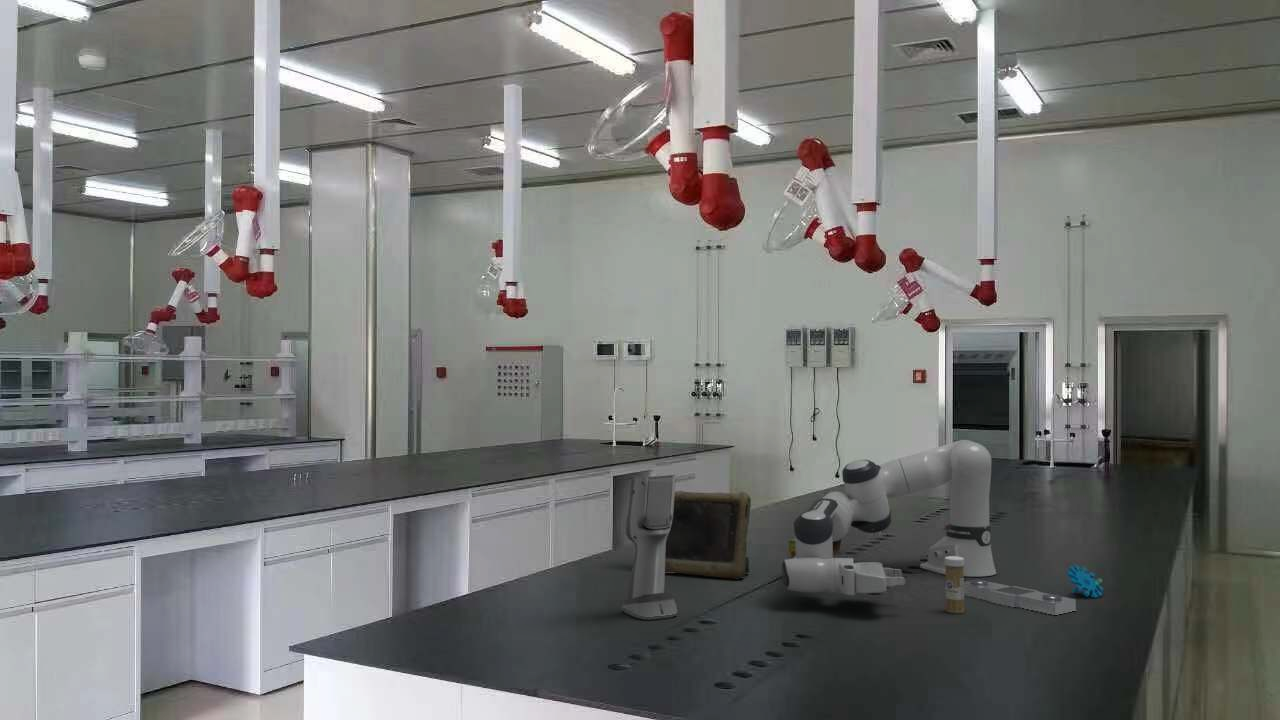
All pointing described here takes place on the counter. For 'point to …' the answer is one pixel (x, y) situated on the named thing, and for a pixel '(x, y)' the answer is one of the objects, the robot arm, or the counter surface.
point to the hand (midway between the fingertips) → (903, 577)
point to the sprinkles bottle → (954, 584)
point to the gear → (1085, 582)
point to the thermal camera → (650, 544)
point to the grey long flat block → (1019, 597)
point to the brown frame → (709, 534)
